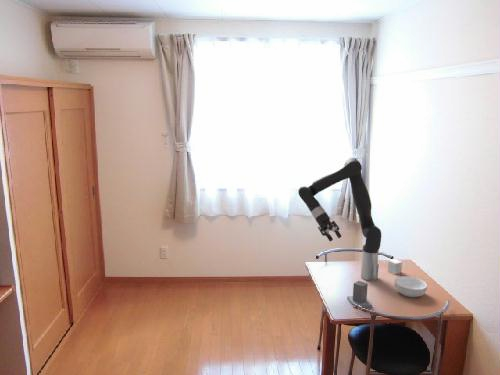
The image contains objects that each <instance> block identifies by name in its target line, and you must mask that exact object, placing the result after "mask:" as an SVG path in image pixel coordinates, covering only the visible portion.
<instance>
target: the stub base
mask: <svg viewBox="0 0 500 375" xmlns="http://www.w3.org/2000/svg"><path fill="white" fill-rule="evenodd" d="M346 300H348V302H349V304H350V305H351V306H352V303H355V304H357V305H360V306H362V307H361V308H373V303H372V302H371V301H370V300H369V298H368V297H367V300H366V301H365V302H363V303H359V302H356V301H354V300H353V295H348V296H347V297H346ZM352 308H355V307H354V306H352ZM355 309H356V308H355Z"/></svg>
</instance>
